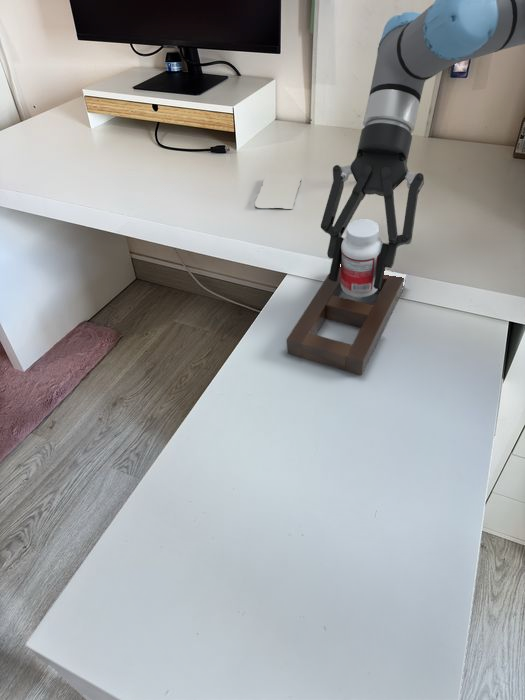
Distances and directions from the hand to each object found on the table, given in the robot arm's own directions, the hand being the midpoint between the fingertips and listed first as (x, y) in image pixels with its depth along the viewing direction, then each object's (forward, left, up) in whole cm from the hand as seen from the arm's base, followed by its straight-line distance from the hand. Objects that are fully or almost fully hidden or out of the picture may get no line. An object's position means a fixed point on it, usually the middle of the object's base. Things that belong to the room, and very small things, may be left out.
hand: (354, 283), depth 77 cm
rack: (0, +1, -6) cm, 6 cm away
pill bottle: (0, -4, -4) cm, 5 cm away
